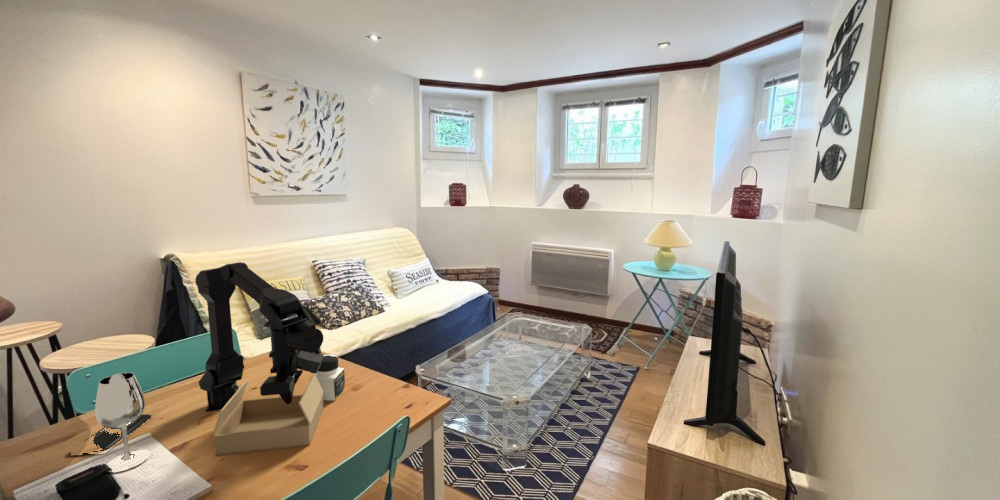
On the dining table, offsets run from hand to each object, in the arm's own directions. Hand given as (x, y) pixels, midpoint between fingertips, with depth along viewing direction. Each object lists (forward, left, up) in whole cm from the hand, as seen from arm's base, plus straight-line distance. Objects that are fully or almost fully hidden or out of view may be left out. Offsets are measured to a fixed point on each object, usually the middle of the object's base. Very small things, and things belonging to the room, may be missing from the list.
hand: (288, 403), depth 99 cm
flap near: (-13, 0, +1) cm, 13 cm away
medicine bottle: (+6, +16, -7) cm, 19 cm away
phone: (-42, +6, -8) cm, 43 cm away
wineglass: (-32, -6, -7) cm, 33 cm away
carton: (-4, 0, -7) cm, 8 cm away
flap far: (+5, 0, +1) cm, 5 cm away
